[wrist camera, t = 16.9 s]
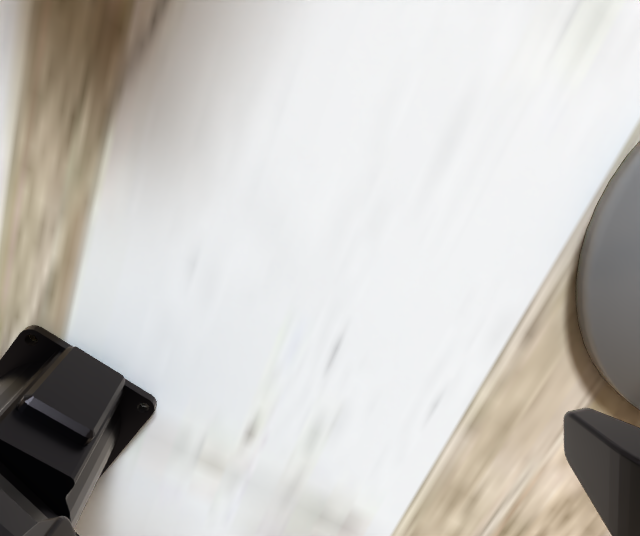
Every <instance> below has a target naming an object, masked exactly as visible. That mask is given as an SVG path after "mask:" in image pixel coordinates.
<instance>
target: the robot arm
mask: <svg viewBox="0 0 640 536" xmlns="http://www.w3.org/2000/svg"><path fill="white" fill-rule="evenodd" d="M29 335H34V336H35V337H36V338H37V341H33V340H31V339H30V337H29ZM140 403H145V404H147V405H148V406H149V407H148V408H144V407H142V406H141V405H140ZM156 405H157V401H156V399H155V398H154V397H153V396H152V395H151V394H149V393H147V392H146V391H144V390H142V389H141V388H139V387H138V386H136V385H134V384H133V383H131V382H129V381H128V380H126V379H125V378H124V377H123V375H121V374H120V373H118V372H116V371H115V370H113V369H111V368H110V367H108V366H107V365H105V364H103V363H102V362H100V361H98V360H97V359H95V358H94V357H92V356H90V355H89V354H87V353H86V352H84V351H82V350H81V349H79V348H77V347H73V346H71V345H69V344H68V343H66V342H65V341H63V340H61V339H60V338H58V337H56V336H55V335H53V334H52V333H50V332H48V331H47V330H45V329H43V328H42V327H39V326H36V325H32V326H28V327H27V328H26V329H25V330H23V331H22V332H21V333H20V334H19V335H18V337H17V338H16V340H15V341H14V342H13V344H12V345H11V346H10V348H9V349H8V350H7V352H6V353H5V354H4V356H3V357H2V359H1V360H0V536H79V535H78V534H77V533H76V532H75V531H74V528H75V526H76V524H77V522H78V520H79V518H80V516H81V513H82V511H83V509H84V507H85V505H86V503H87V501H88V499H89V497H90V495H91V493H92V491H93V489H94V487H95V485H96V483H97V481H98V479H99V477H100V476H101V475H102V474H103V473H104V471H105V470H106V469H107V468H108V467H109V465H110V464H111V463H112V462H113V461H114V459H115V458H116V457H117V456H118V455H119V453H120V452H121V451H122V450H123V449H124V447H125V446H126V445H127V444H128V443H129V441H130V440H131V439H132V438H133V437H134V435H135V434H136V433H137V432H138V431H139V430H140V428H141V427H142V426H143V425H144V424H145V422H146V421H147V420H148V419H149V418H150V416H151V415H152V414H153V412H154V410H155V408H156ZM564 451H565V455H566V458H567V461H568V463H569V465H570V466H571V468H572V470H573V471H574V473H575V475H576V476H577V478H578V480H579V481H580V483H581V485H582V486H583V488H584V490H585V491H586V493H587V495H588V497H589V498H590V500H591V502H592V503H593V505H594V507H595V508H596V510H597V512H598V513H599V515H600V517H601V518H602V520H603V522H604V523H605V525H606V527H607V528H608V530H609V532H610V533H611V535H612V536H640V428H639V427H636V426H634V425H631V424H628V423H626V422H623V421H621V420H618V419H616V418H613V417H611V416H608V415H606V414H603V413H601V412H598V411H596V410H593V409H590V408H582V409H578V410H573V411H568V412H567V413H566V414H565V416H564Z"/></svg>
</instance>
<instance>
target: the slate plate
mask: <svg viewBox="0 0 640 536" xmlns="http://www.w3.org/2000/svg"><path fill="white" fill-rule="evenodd" d="M576 307H577V315H578V323H579V327H580V331H581V334H582V338H583V341H584V345H585V347H586V349H587V351H588V353H589V356H590V358H591V360H592V362H593V364H594V365H595V367H596V368H597V370H598V371H599V372H600V374H601V375H602V377H603V378H604V379H605V380H606V381H607V382H608V384H609V385H610V386H611V387H612V388H613V389H614V390H615V391H616V392H617V393H619V394H620V395H621V396H622V397H624V398H625V399H626V400H627V401H629V402H630V403H631V404H632V405H634V406H635V407H636V408H638V409H639V410H640V141H639V142H638V144H637V145H636V146H635V147H634V148H633V149H632V151H631V152H630V153H629V154H628V155H627V157H626V158H625V160H624V161H623V163H622V164H621V165H620V167H619V168H618V170H617V171H616V173H615V174H614V176H613V177H612V178H611V180H610V182H609V184H608V186H607V187H606V189H605V191H604V193H603V195H602V197H601V199H600V200H599V202H598V204H597V206H596V209H595V211H594V214H593V216H592V219H591V221H590V224H589V226H588V228H587V231H586V235H585V239H584V242H583V246H582V249H581V253H580V258H579V265H578V272H577V278H576Z"/></svg>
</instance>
